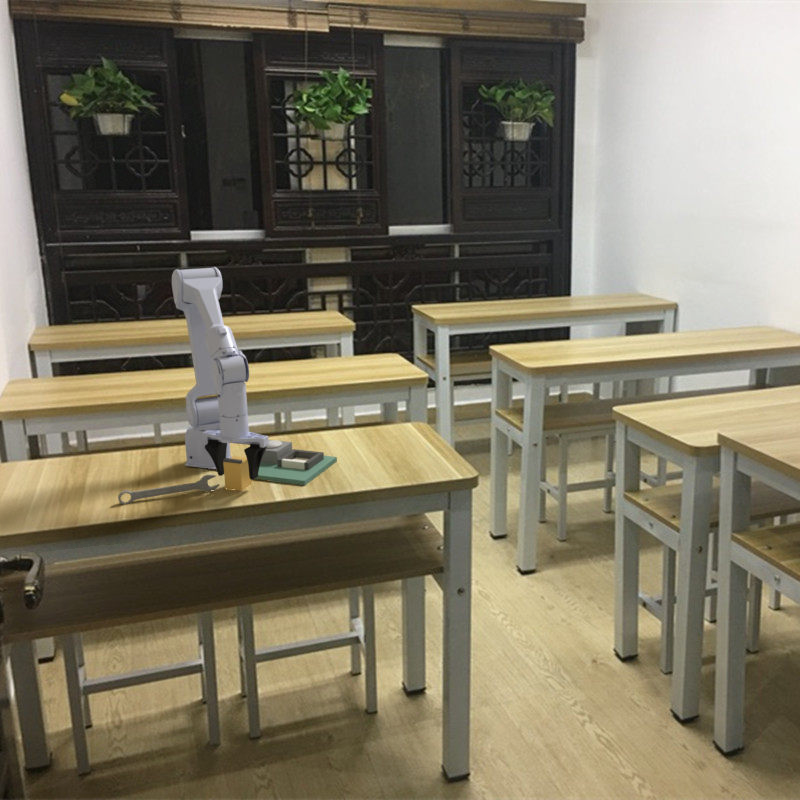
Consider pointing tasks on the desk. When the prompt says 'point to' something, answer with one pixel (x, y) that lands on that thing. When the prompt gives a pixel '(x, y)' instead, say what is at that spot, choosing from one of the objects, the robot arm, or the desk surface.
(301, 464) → the board
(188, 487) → the combination wrench
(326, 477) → the desk surface
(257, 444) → the robot arm
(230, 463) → the plug
